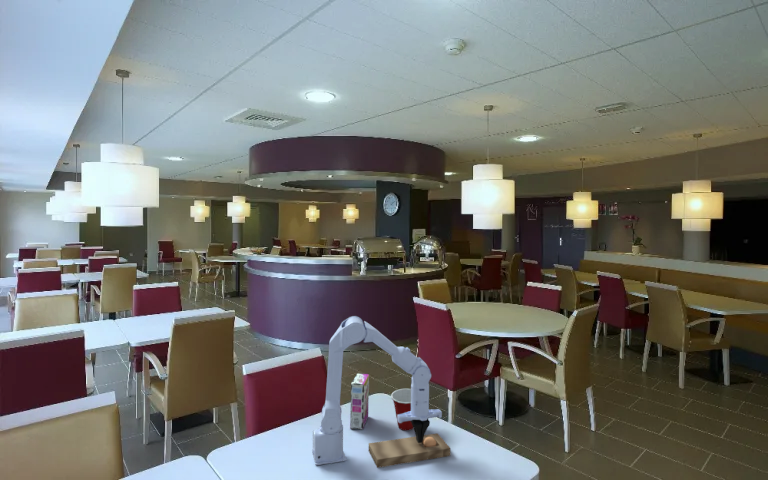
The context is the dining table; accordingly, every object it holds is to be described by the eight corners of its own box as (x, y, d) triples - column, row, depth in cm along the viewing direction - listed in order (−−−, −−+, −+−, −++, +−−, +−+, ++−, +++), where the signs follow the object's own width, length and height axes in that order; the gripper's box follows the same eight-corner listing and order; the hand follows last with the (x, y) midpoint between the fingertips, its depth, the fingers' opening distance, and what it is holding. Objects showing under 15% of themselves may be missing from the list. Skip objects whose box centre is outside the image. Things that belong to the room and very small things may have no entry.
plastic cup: (385, 429, 153) (385, 396, 153) (398, 417, 163) (399, 386, 162) (413, 437, 148) (413, 402, 148) (425, 424, 158) (426, 391, 157)
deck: (377, 467, 130) (377, 459, 130) (368, 450, 139) (368, 443, 139) (450, 455, 137) (450, 448, 136) (437, 440, 146) (437, 433, 146)
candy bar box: (363, 430, 153) (364, 384, 152) (349, 429, 154) (350, 383, 153) (369, 416, 164) (369, 373, 163) (356, 415, 165) (356, 372, 164)
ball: (431, 455, 138) (423, 446, 137) (426, 449, 142) (419, 440, 141) (440, 446, 139) (432, 437, 138) (435, 440, 143) (428, 431, 142)
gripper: (402, 407, 132) (402, 450, 133) (446, 401, 136) (445, 444, 137) (395, 398, 139) (394, 439, 140) (436, 393, 143) (436, 433, 144)
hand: (419, 441), depth 139 cm, fingers closed
